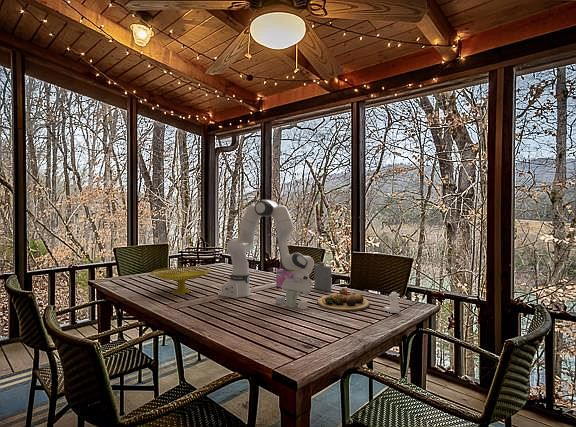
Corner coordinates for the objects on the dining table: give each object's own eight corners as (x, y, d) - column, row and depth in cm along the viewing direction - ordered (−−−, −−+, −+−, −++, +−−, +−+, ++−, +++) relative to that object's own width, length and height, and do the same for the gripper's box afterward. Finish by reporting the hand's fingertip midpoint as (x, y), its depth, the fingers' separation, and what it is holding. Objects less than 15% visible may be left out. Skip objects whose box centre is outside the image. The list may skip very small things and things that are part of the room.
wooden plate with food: (327, 295, 241) (327, 283, 241) (374, 301, 228) (374, 288, 227) (309, 308, 212) (309, 295, 212) (362, 315, 199) (362, 301, 198)
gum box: (300, 282, 283) (300, 265, 283) (306, 284, 277) (307, 267, 276) (275, 286, 269) (276, 268, 269) (281, 288, 263) (281, 270, 262)
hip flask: (332, 291, 254) (332, 263, 254) (328, 291, 252) (328, 263, 251) (316, 287, 266) (316, 260, 266) (312, 287, 264) (312, 261, 263)
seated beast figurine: (398, 309, 208) (398, 289, 208) (405, 314, 200) (405, 293, 200) (382, 310, 207) (383, 290, 207) (389, 314, 198) (389, 293, 198)
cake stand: (189, 302, 222) (189, 278, 222) (137, 296, 235) (137, 274, 235) (221, 288, 260) (221, 268, 260) (174, 284, 273) (174, 264, 273)
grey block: (275, 303, 221) (275, 297, 221) (279, 302, 224) (279, 295, 224) (281, 304, 218) (281, 298, 218) (284, 303, 222) (284, 296, 221)
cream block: (298, 308, 211) (298, 301, 210) (301, 306, 214) (301, 300, 214) (303, 309, 208) (303, 302, 208) (307, 307, 211) (307, 301, 211)
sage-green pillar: (286, 305, 216) (286, 291, 215) (290, 304, 219) (290, 290, 219) (292, 306, 213) (292, 292, 213) (296, 305, 216) (296, 291, 216)
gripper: (284, 274, 228) (275, 292, 220) (311, 278, 215) (302, 297, 208) (288, 280, 231) (279, 297, 223) (315, 284, 219) (306, 303, 211)
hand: (290, 297), depth 215 cm, fingers closed on sage-green pillar, 4 cm apart
